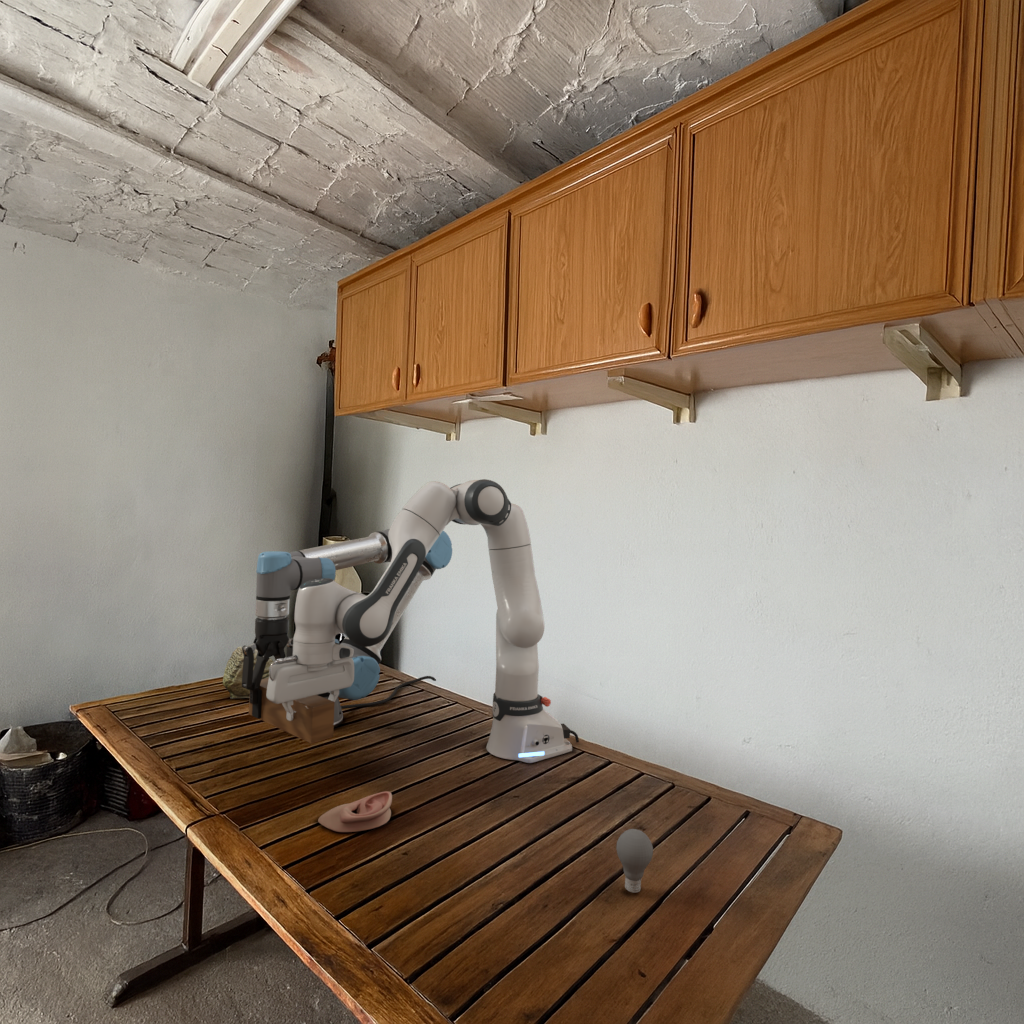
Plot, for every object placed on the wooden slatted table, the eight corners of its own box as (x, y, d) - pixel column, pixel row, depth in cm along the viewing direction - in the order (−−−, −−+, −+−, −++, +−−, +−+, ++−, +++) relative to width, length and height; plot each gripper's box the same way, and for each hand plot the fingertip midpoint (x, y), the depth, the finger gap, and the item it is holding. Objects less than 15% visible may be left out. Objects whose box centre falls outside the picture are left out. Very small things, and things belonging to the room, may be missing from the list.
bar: (248, 714, 151) (249, 681, 151) (269, 708, 156) (271, 677, 156) (311, 743, 135) (312, 707, 135) (333, 736, 140) (334, 701, 139)
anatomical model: (310, 807, 121) (339, 781, 132) (309, 827, 121) (338, 800, 132) (375, 817, 118) (398, 790, 129) (374, 838, 118) (398, 809, 129)
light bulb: (610, 879, 108) (613, 822, 108) (644, 879, 109) (647, 822, 109) (619, 902, 102) (622, 840, 102) (655, 901, 103) (658, 840, 103)
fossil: (218, 695, 195) (220, 647, 195) (278, 685, 208) (279, 640, 207) (228, 703, 189) (230, 653, 188) (289, 692, 201) (290, 645, 201)
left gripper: (243, 624, 141) (239, 727, 141) (315, 614, 155) (311, 708, 156) (226, 619, 145) (222, 719, 146) (298, 610, 160) (294, 701, 160)
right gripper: (278, 663, 130) (275, 730, 130) (359, 648, 146) (356, 708, 146) (262, 656, 134) (259, 722, 134) (343, 643, 150) (340, 701, 150)
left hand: (268, 713), depth 151 cm, fingers closed on bar, 5 cm apart
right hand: (310, 714), depth 140 cm, fingers open, 8 cm apart
